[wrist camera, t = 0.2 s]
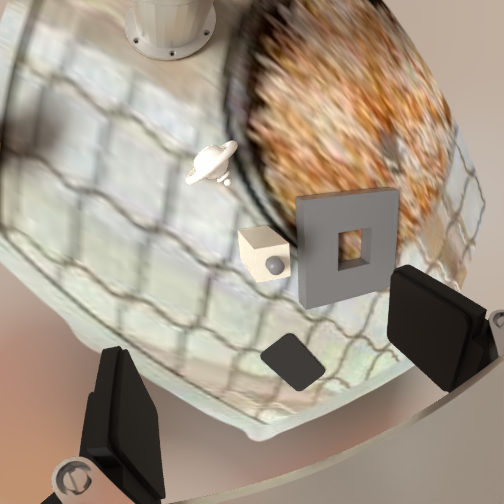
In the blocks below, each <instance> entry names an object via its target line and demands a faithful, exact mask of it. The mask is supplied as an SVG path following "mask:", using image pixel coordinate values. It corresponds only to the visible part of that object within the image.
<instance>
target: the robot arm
mask: <svg viewBox="0 0 504 504" xmlns="http://www.w3.org/2000/svg"><path fill="white" fill-rule="evenodd" d="M213 2H214V0H131V7H130V9H129V10H128V12H127V15H126V18H125V32H126V36H127V39H128V40H129V42H130V44H131V45H132V46H133V48H134V49H135V50H136V51H138V52H139V53H140V54H142V55H144V56H146V57H148V58H152V59H156V60H165V61H167V60H176V59H180V58H184V57H187V56H189V55H191V54H193V53H195V52H196V51H198V50H199V49H201V48H202V47H203V46H204V45H205V44H206V43H207V41H208V40H209V39H210V37H211V35H212V34H213V31H214V29H215V25H216V12H215V8H214V6H213ZM205 33H207V35H204V34H205ZM136 41H138V43H135V42H136ZM172 53H173V54H174V56H171V55H170V54H172ZM486 311H487V310H486V309H485V308H483V307H481V306H480V305H478V304H477V303H475V302H473V301H472V300H470V299H468V298H467V297H465V296H463V295H462V294H460V293H458V292H457V291H455V290H453V289H452V288H450V287H448V286H446V285H445V284H443V283H441V282H439V281H438V280H436V279H434V278H432V277H431V276H429V275H427V274H425V273H424V272H422V271H420V270H418V269H416V268H415V267H413V266H411V265H404V266H401V267H399V268H396V269H395V270H394V271H393V274H392V275H391V278H390V298H389V313H388V325H387V337H388V339H389V341H390V342H391V343H392V344H393V345H394V346H395V347H396V348H397V349H399V350H400V351H401V352H402V353H403V354H404V355H405V356H406V357H407V358H408V359H409V360H411V361H412V362H413V363H414V364H415V365H416V366H417V367H418V368H419V369H420V370H421V371H423V372H424V373H425V374H426V375H427V376H428V377H429V378H430V379H431V380H432V381H433V382H434V383H435V384H437V385H438V386H439V387H440V388H441V389H442V390H443V391H447V392H449V394H447V395H446V396H444V397H443V398H441V399H440V400H438V401H437V402H435V403H434V404H432V405H430V406H429V407H427V408H426V409H424V410H422V411H421V412H419V413H417V414H416V415H414V416H412V417H410V418H409V419H407V420H405V421H403V422H402V423H400V424H398V425H396V426H394V427H393V428H391V429H389V430H387V431H385V432H383V433H381V434H379V435H377V436H375V437H373V438H371V439H369V440H367V441H365V442H363V443H361V444H359V445H357V446H354V447H352V448H350V449H348V450H346V451H343V452H341V453H339V454H336V455H334V456H332V457H329V458H327V459H324V460H322V461H319V462H317V463H314V464H312V465H309V466H307V467H304V468H301V469H298V470H296V471H293V472H290V473H287V474H284V475H281V476H278V477H275V478H272V479H269V480H265V481H262V482H259V483H255V484H252V485H248V486H245V487H241V488H237V489H233V490H230V491H226V492H221V493H217V494H213V495H209V496H204V497H199V498H195V499H190V500H184V501H179V502H175V503H170V504H504V310H497V311H494V312H492V313H491V314H490V316H489V319H488V320H487V319H485V315H486ZM51 482H52V488H53V489H54V493H53V494H51V495H50V496H49V497H48V498H47V499H46V500H44V501H43V502H42V503H41V504H161V499H165V486H164V478H163V469H162V460H161V450H160V439H159V427H158V414H157V410H156V407H155V405H154V403H153V401H152V400H151V398H150V395H149V394H148V392H147V389H146V388H145V386H144V384H143V381H142V379H141V377H140V375H139V373H138V371H137V369H136V367H135V365H134V362H133V360H132V358H131V356H130V354H129V352H128V350H127V349H125V350H122V348H121V347H120V346H117V347H112V348H107V349H103V351H102V355H101V359H100V364H99V370H98V374H97V379H96V385H95V390H94V392H91V393H90V394H89V397H88V401H87V408H86V413H85V419H84V426H83V431H82V438H81V445H80V454H79V457H71V458H68V459H66V460H64V461H62V462H61V463H60V464H59V465H58V466H57V467H56V468H55V470H54V471H53V474H52V478H51Z"/></svg>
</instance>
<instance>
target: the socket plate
mask: <svg viewBox="0 0 504 504" xmlns="http://www.w3.org/2000/svg"><path fill="white" fill-rule="evenodd" d="M295 203H296V224H297V249H298V282H299V302H300V303H301V305H302V306H303V307H304V308H305V309H306V310H307V309H311V308H315V307H319V306H323V305H327V304H331V303H335V302H339V301H342V300H346V299H350V298H353V297H357V296H360V295H364V294H368V293H371V292H375V291H378V290H381V289H385V288H388V287H390V278H391V275H392V274H393V271H394V267H395V256H396V244H397V229H398V208H399V190H397V189H394V188H390V187H383V188H372V189H361V190H351V191H342V192H333V193H324V194H315V195H306V196H298V197H295ZM358 229H362V241H361V258H357V259H353V260H348V261H344V262H339V263H338V233H341V232H346V231H352V230H358Z"/></svg>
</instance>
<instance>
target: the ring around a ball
mask: <svg viewBox="0 0 504 504" xmlns="http://www.w3.org/2000/svg"><path fill="white" fill-rule="evenodd" d="M237 146H238V145H237V142H235V141H229V142H227V143H225V144H223V145H222V146H220V147H218V146H215V145H211V146H208V147H206V148H205V149H203V150H202V151H201V152H200V153H199V154H198V155H197V156H196V158H195V159H194V166H195V167H194V168H193V169H192V170H191V171H190V172H189V174H188V175H187V177H186V182H187V183H188V184H194V183H197V182H198V181H200V180H202V179H203V178H207V179H215V178H218V179H217V182H221V181H223V180H224V179H225V180H224V184H225V185H226V186H229V185H230V184H231V180H230V179H229V178H227V177H228V176H229V174H230V172H229V171H226V169H227V167H228V158H229V157H230V156H231V155H232V154H233V153H234V152H235V150H236V149H237ZM225 171H226V172H225ZM224 172H225V173H224ZM226 178H227V179H226Z"/></svg>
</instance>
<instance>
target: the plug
mask: <svg viewBox="0 0 504 504" xmlns="http://www.w3.org/2000/svg"><path fill="white" fill-rule="evenodd" d="M238 238H239V248H240V257H241V260H242V261H243V263H244V264H245V266H246V267H247V269H248V270H249V272H250V273H251V275H252V276H253V278H254V279H255V280H256V282H257V283H259V282H264V281H269V280H274V279H279V278H284V277H289V276H290V253H289V243H288V242H287V241H286V240H284V239H283V238H282V237H281V236H280V235H278V234H277V233H276V232H275V231H273V230H272V229H271V228H270V227H269V226H267V225H265V226H258V227H252V228H246V229H240V230H238Z"/></svg>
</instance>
